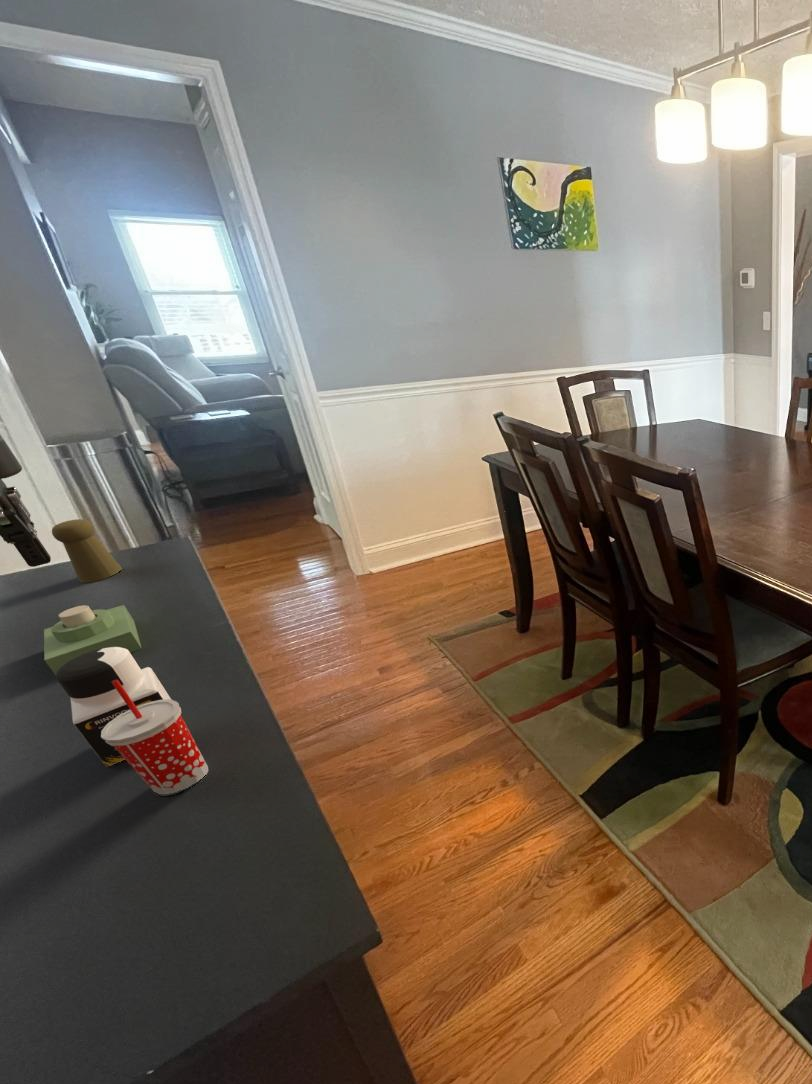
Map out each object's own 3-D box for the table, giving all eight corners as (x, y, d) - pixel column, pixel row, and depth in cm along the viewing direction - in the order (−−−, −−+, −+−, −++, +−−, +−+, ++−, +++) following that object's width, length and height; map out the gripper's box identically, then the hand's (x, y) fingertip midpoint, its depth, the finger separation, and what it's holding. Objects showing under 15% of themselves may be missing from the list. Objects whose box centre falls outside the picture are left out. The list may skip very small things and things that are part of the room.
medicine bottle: (107, 769, 68) (44, 687, 63) (102, 740, 73) (43, 661, 67) (186, 734, 73) (135, 655, 67) (178, 709, 77) (128, 632, 71)
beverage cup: (229, 755, 69) (169, 658, 63) (195, 797, 64) (126, 696, 57) (170, 763, 69) (103, 666, 62) (131, 806, 63) (53, 705, 57)
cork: (75, 577, 112) (40, 524, 107) (118, 564, 117) (86, 513, 112) (83, 585, 109) (47, 531, 104) (126, 572, 114) (94, 519, 109)
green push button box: (141, 648, 90) (124, 621, 88) (57, 678, 84) (36, 649, 82) (134, 621, 97) (117, 595, 95) (56, 646, 92) (36, 619, 89)
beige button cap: (96, 621, 89) (89, 610, 88) (66, 631, 87) (58, 619, 86) (95, 614, 91) (88, 602, 90) (66, 623, 89) (58, 611, 88)
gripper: (-81, 442, 78) (4, 560, 86) (-95, 461, 69) (0, 588, 77) (4, 429, 82) (76, 541, 90) (0, 445, 74) (80, 567, 82)
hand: (41, 563), depth 84 cm, fingers closed
